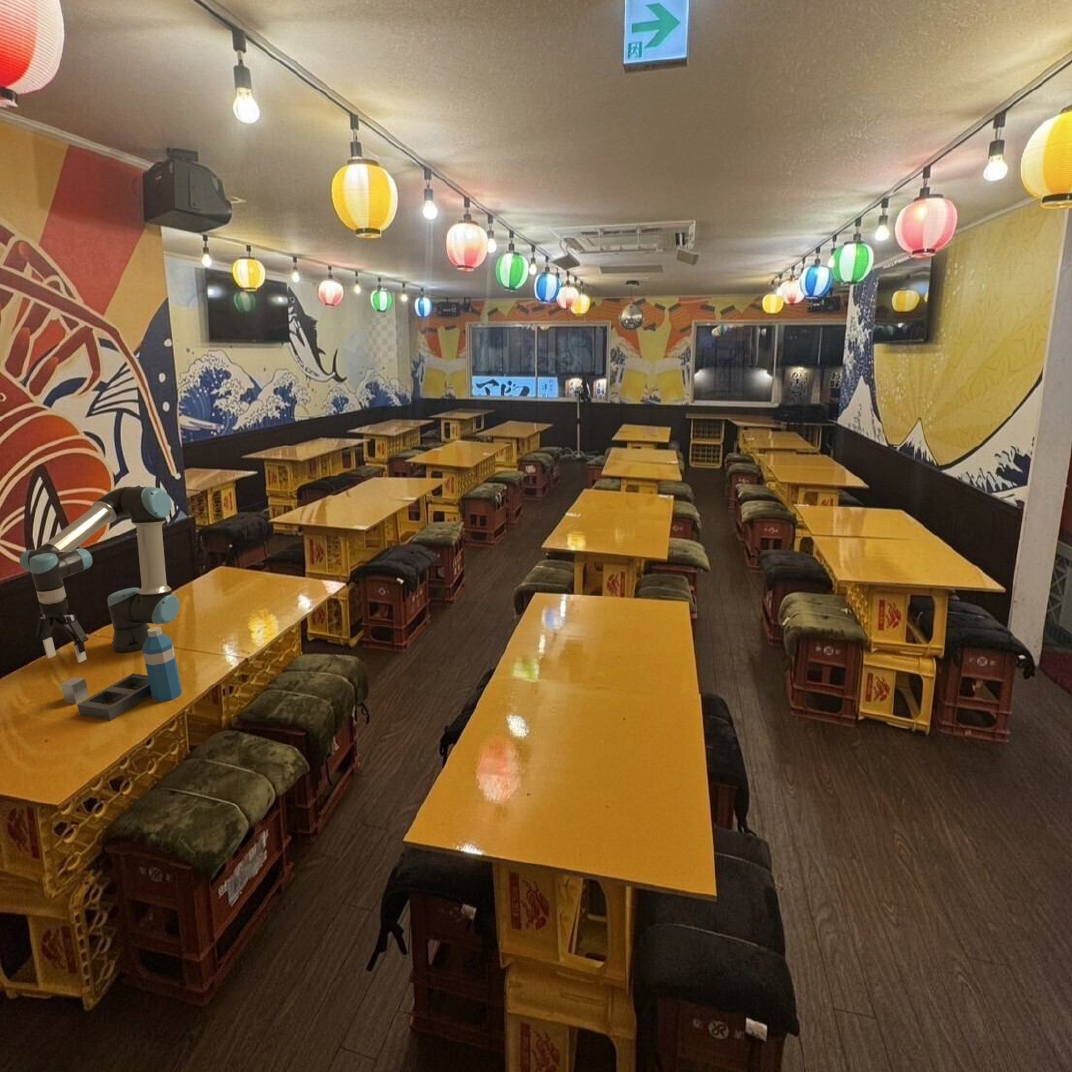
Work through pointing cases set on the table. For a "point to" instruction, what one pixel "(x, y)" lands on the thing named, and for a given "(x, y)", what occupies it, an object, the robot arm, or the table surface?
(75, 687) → the brushed gray brick
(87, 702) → the grey compartment tray
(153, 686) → the water bottle
